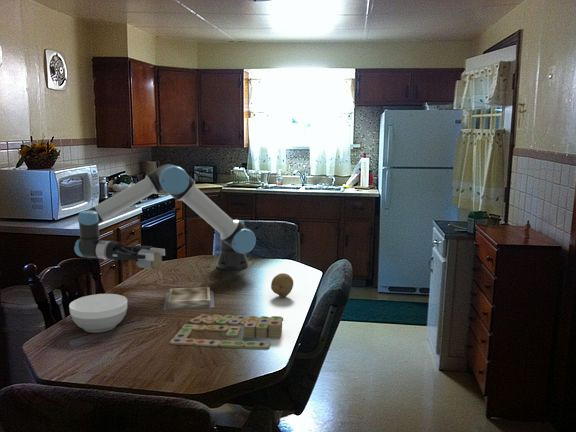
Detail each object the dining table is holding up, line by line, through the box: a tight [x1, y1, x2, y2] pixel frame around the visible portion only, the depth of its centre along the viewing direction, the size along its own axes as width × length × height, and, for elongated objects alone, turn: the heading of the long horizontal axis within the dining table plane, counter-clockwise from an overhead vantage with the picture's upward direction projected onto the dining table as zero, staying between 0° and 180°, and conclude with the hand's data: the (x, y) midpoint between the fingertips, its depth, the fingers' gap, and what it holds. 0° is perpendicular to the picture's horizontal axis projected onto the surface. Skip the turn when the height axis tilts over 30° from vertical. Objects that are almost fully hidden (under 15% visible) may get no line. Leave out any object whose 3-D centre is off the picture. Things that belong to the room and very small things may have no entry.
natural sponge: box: [270, 272, 294, 298], centre depth 212 cm, size 9×9×10 cm
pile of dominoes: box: [169, 313, 284, 350], centre depth 178 cm, size 35×27×6 cm
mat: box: [163, 290, 215, 311], centre depth 208 cm, size 19×20×1 cm
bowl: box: [68, 293, 128, 333], centre depth 180 cm, size 19×19×9 cm
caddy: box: [168, 286, 211, 308], centre depth 208 cm, size 16×16×2 cm
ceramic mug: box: [135, 249, 164, 270], centre depth 212 cm, size 11×8×8 cm
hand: (159, 254), depth 209 cm, fingers closed on ceramic mug, 8 cm apart
